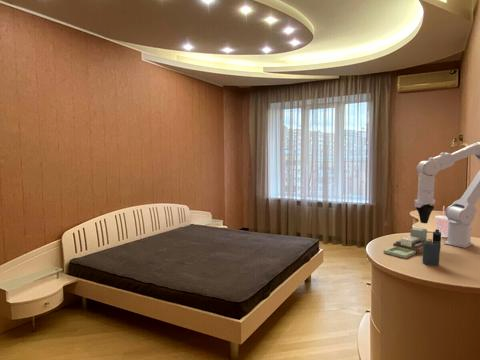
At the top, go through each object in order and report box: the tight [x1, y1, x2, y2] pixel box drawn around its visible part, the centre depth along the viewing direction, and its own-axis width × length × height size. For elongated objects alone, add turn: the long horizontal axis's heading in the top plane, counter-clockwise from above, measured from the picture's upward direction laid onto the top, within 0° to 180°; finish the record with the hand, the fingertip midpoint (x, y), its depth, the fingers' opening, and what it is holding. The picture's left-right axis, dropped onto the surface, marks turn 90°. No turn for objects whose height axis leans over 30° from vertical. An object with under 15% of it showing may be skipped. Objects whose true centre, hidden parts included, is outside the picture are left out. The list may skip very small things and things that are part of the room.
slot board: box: [392, 238, 433, 255], centre depth 129 cm, size 14×10×3 cm, turn 128°
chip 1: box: [400, 236, 416, 247], centre depth 126 cm, size 4×4×2 cm
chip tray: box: [383, 245, 417, 259], centre depth 122 cm, size 9×8×1 cm
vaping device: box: [421, 228, 442, 266], centre depth 110 cm, size 3×5×12 cm, turn 79°
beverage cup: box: [434, 205, 449, 238], centre depth 146 cm, size 6×6×14 cm
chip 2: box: [406, 235, 421, 244], centre depth 129 cm, size 4×4×2 cm
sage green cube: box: [409, 227, 428, 242], centre depth 131 cm, size 4×4×5 cm
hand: (423, 222), depth 134 cm, fingers closed
